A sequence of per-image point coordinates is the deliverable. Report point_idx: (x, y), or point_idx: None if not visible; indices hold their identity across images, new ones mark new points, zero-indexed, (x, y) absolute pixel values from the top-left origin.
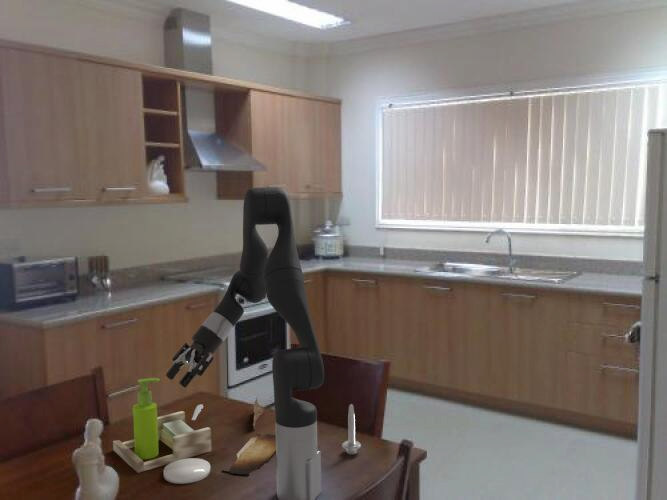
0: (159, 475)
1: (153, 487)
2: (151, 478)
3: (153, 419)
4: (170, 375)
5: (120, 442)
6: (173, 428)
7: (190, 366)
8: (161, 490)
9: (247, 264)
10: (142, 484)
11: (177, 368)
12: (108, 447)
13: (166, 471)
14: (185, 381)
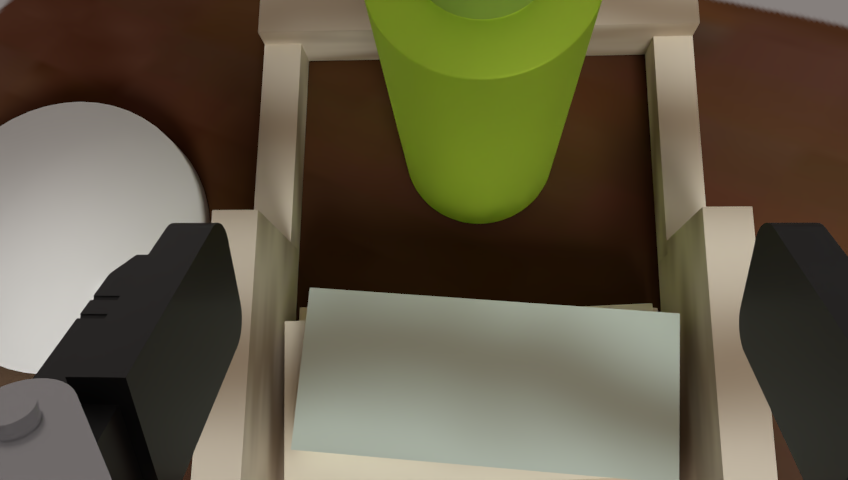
0: (166, 108)
1: (65, 35)
2: (164, 62)
3: (381, 65)
4: (766, 298)
5: (641, 16)
6: (517, 340)
7: (73, 472)
8: (6, 53)
9: None
10: (136, 4)
11: (830, 455)
12: (747, 12)
13: (112, 122)
14: (108, 292)
